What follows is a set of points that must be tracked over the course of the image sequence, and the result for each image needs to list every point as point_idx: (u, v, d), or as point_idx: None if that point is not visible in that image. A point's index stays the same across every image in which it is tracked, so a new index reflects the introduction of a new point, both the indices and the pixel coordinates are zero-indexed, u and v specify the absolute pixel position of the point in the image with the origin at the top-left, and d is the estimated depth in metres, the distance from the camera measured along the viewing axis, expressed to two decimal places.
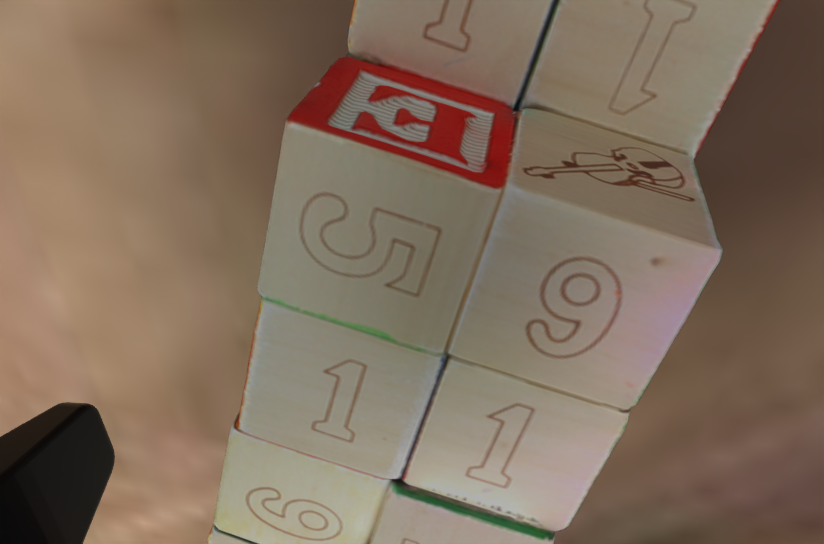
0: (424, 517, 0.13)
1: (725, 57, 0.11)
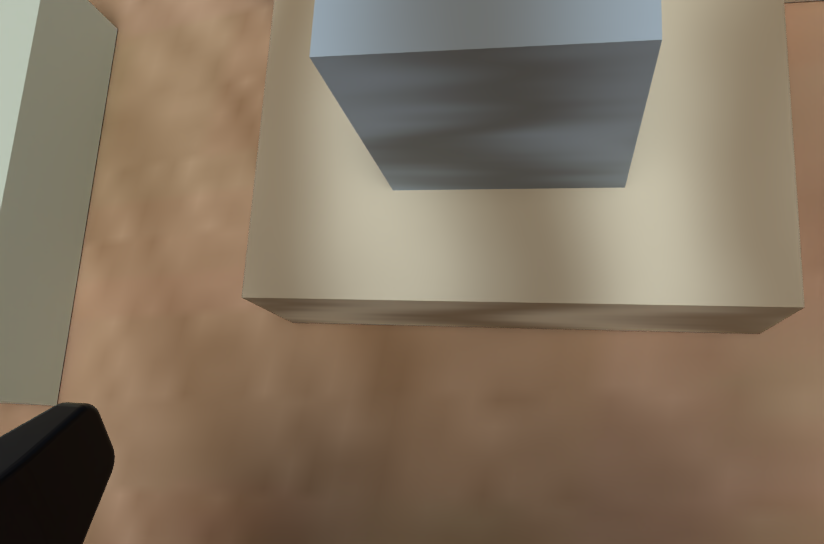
0: None
1: None
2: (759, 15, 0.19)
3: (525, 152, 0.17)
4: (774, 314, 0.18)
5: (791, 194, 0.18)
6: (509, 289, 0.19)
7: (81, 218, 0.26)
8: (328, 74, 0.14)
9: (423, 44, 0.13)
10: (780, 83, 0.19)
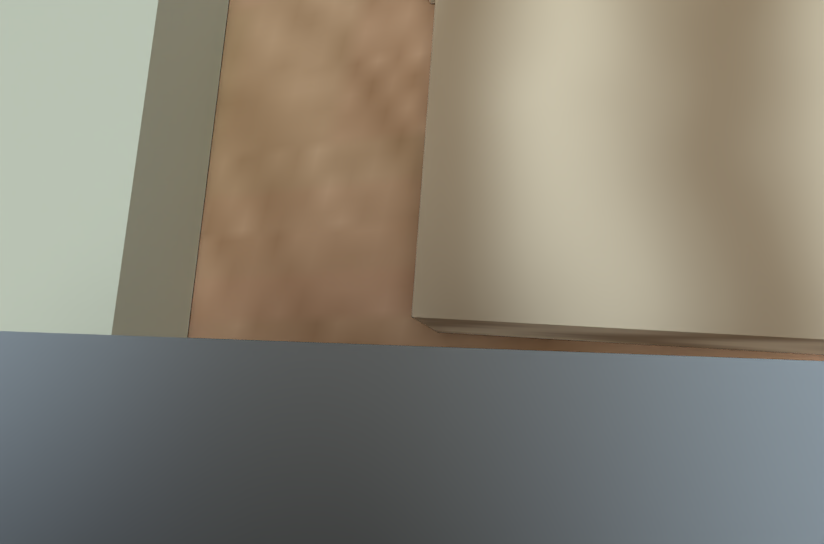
0: None
1: None
2: None
3: None
4: None
5: None
6: (727, 319, 0.16)
7: (198, 210, 0.24)
8: None
9: None
10: None
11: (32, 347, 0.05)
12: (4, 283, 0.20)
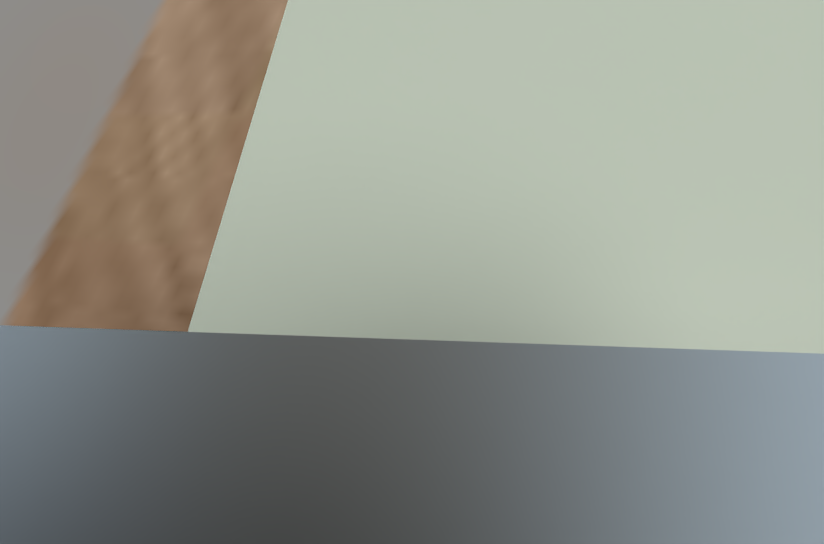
0: None
1: None
2: None
3: None
4: None
5: None
6: None
7: None
8: None
9: None
10: None
11: (31, 341, 0.05)
12: None
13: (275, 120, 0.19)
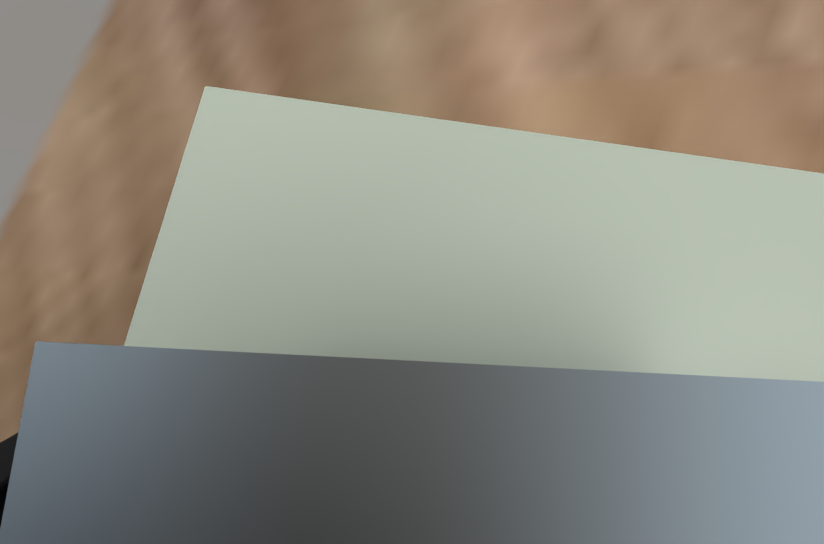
0: None
1: None
2: None
3: None
4: None
5: None
6: None
7: None
8: None
9: None
10: None
11: (117, 358, 0.06)
12: None
13: (156, 341, 0.14)
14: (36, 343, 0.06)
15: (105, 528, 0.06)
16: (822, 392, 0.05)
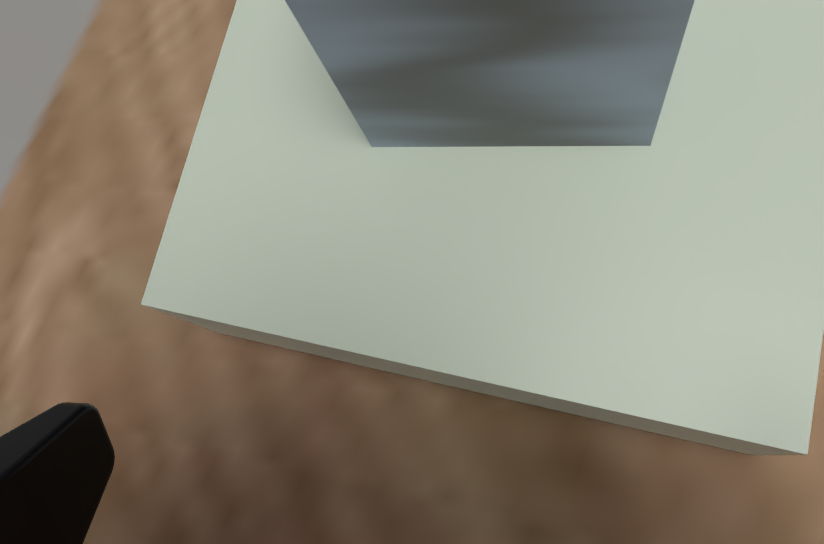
0: None
1: None
2: None
3: (530, 93, 0.14)
4: None
5: None
6: None
7: None
8: None
9: None
10: None
11: None
12: (642, 248, 0.15)
13: None
14: None
15: None
16: None
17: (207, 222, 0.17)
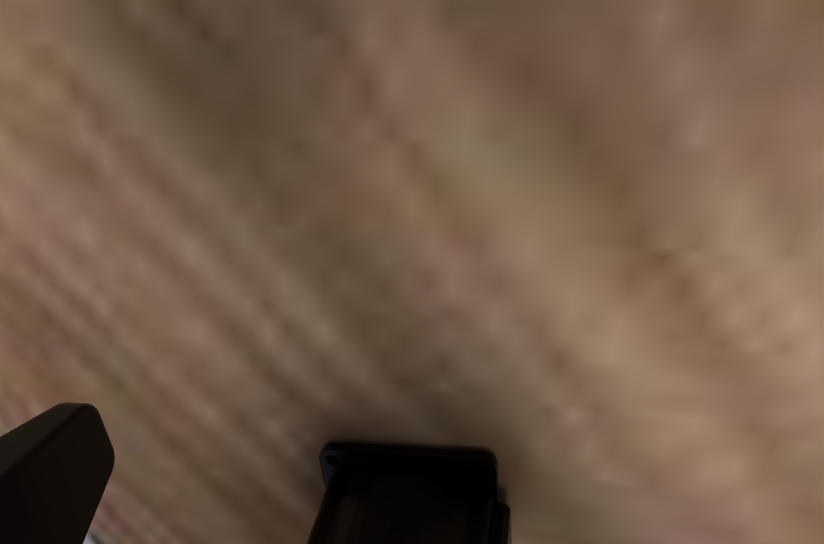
0: None
1: None
2: None
3: None
4: None
5: None
6: None
7: None
8: None
9: None
10: None
11: None
12: None
13: None
14: None
15: None
16: None
17: None
